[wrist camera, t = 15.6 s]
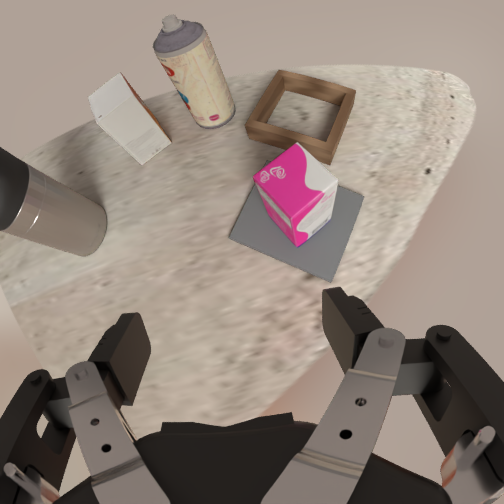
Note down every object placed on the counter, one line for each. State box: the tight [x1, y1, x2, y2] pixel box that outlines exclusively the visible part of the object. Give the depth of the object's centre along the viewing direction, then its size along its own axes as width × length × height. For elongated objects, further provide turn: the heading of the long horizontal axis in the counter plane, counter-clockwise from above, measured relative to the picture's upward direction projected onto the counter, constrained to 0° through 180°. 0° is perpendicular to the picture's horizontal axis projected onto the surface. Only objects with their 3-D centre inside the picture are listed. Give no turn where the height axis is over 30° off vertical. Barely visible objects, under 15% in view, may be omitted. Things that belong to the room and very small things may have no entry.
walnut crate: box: [245, 70, 356, 165], centre depth 37 cm, size 12×12×4 cm
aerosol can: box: [153, 15, 235, 129], centre depth 32 cm, size 7×7×20 cm
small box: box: [88, 72, 172, 165], centre depth 37 cm, size 8×6×13 cm
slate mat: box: [229, 160, 364, 282], centre depth 36 cm, size 14×12×1 cm
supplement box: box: [253, 142, 339, 248], centre depth 30 cm, size 6×6×12 cm
